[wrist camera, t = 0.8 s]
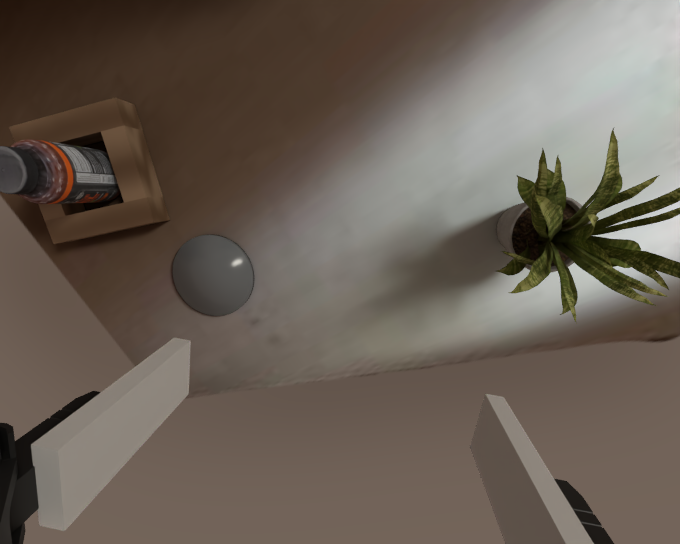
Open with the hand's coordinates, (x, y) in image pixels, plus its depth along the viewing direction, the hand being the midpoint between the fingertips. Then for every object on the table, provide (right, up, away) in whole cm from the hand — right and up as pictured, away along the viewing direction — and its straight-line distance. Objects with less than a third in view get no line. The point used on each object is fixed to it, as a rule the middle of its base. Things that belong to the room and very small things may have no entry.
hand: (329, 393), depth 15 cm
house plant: (+21, +10, +22) cm, 32 cm away
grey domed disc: (-15, +5, +27) cm, 31 cm away
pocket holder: (-27, +17, +25) cm, 41 cm away
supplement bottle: (-27, +17, +25) cm, 41 cm away
